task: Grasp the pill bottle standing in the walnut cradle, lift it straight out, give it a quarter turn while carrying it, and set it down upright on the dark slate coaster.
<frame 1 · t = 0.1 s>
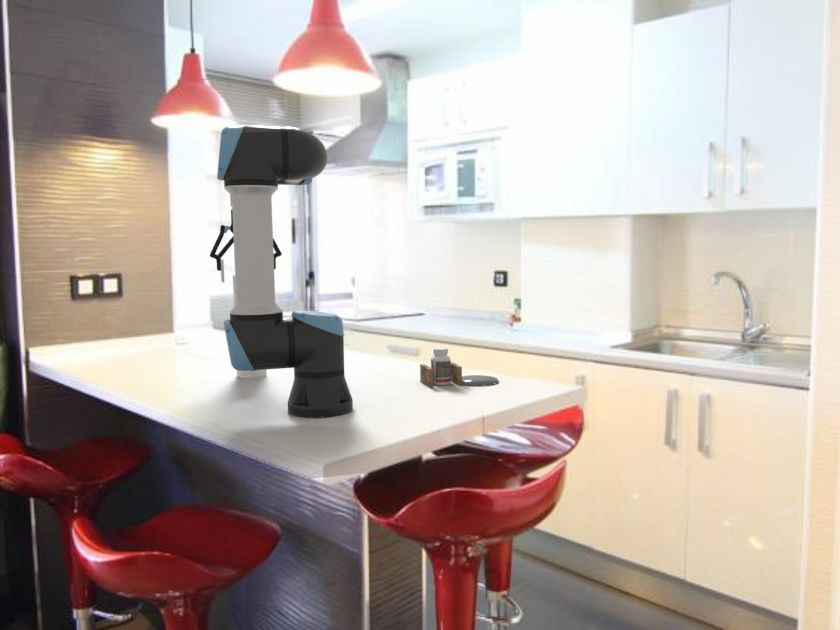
hand: (247, 281, 204), 28 cm above the table, fingers open, 13 cm apart
pill bottle: (440, 384, 192), on the table
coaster: (476, 381, 194), on the table
container: (251, 376, 208), on the table
cradle: (440, 383, 192), on the table
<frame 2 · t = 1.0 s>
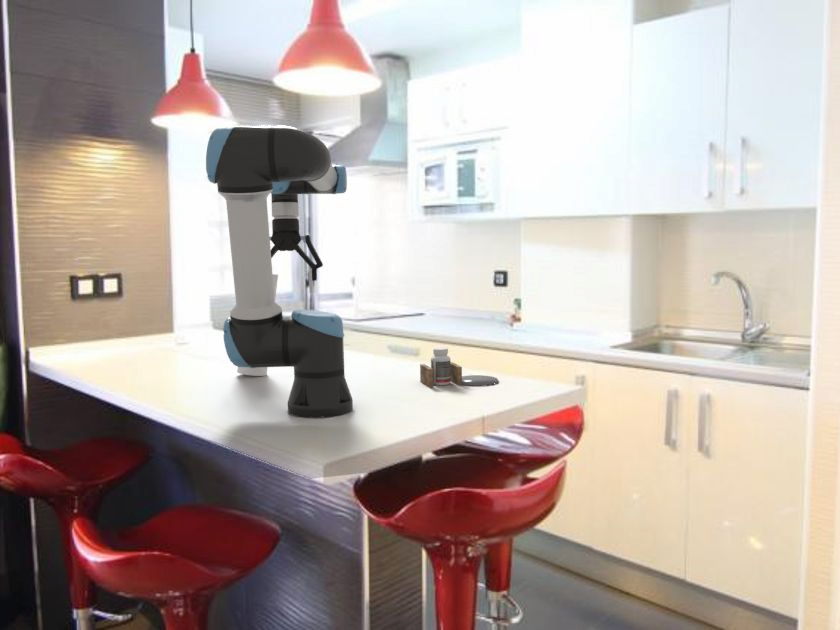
hand: (287, 292, 201), 25 cm above the table, fingers open, 13 cm apart
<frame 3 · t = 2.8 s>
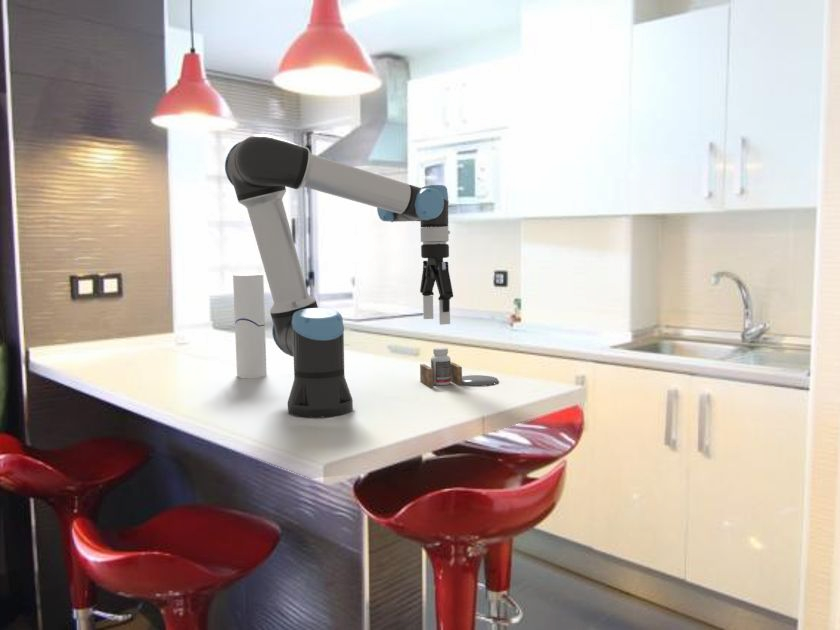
hand: (436, 321, 191), 17 cm above the table, fingers open, 13 cm apart
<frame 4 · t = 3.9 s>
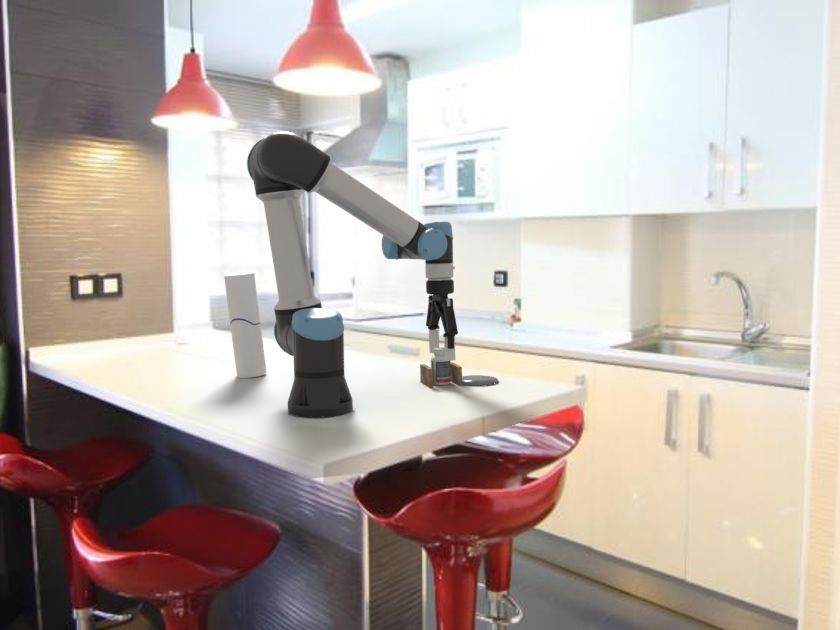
hand: (442, 356, 192), 7 cm above the table, fingers open, 13 cm apart
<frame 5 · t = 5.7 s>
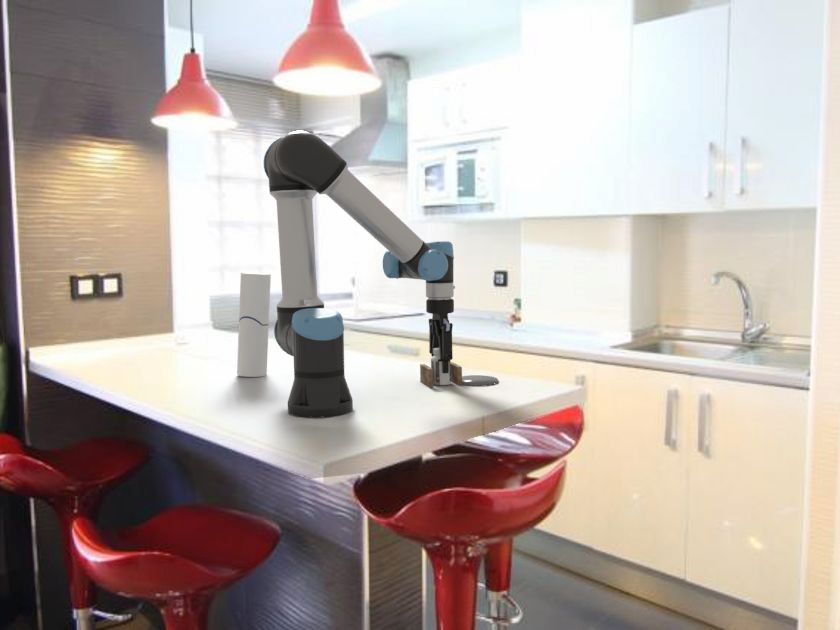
hand: (440, 382, 192), 0 cm above the table, fingers closed on pill bottle, 5 cm apart
pill bottle: (440, 384, 192), on the table, touching gripper
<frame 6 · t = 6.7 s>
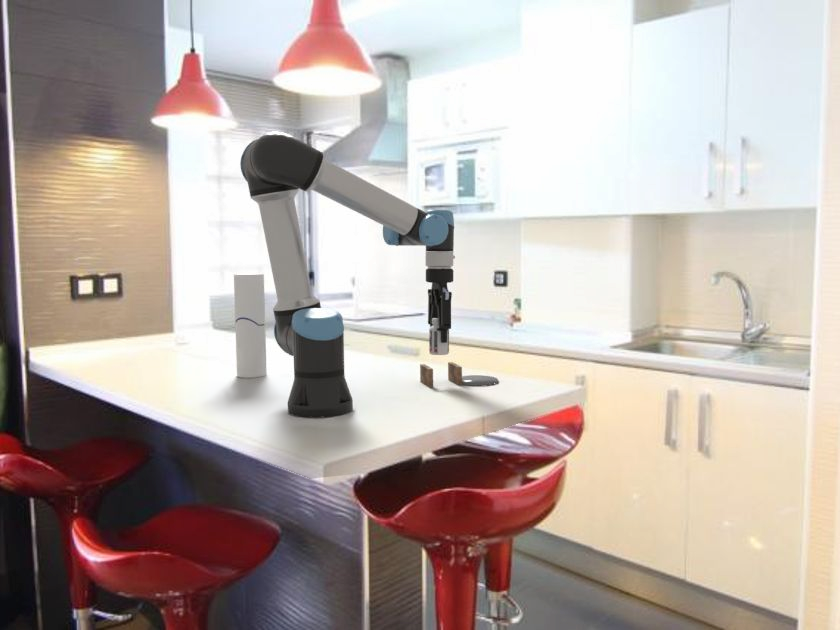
hand: (439, 352, 191), 9 cm above the table, fingers closed on pill bottle, 5 cm apart
pill bottle: (439, 354, 191), point 8 cm above the table, touching gripper
when the fingers open (2 cm above the table, at t = 11.1 s): pill bottle drops 1 cm, resting on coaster.
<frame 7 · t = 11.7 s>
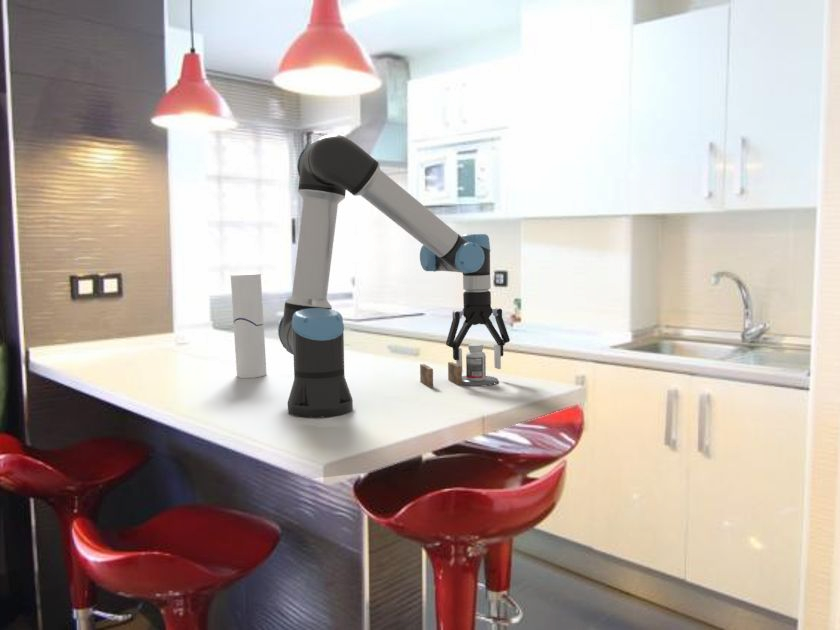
hand: (478, 369, 194), 3 cm above the table, fingers open, 11 cm apart
pill bottle: (476, 380, 194), resting on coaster
everything else where it was.
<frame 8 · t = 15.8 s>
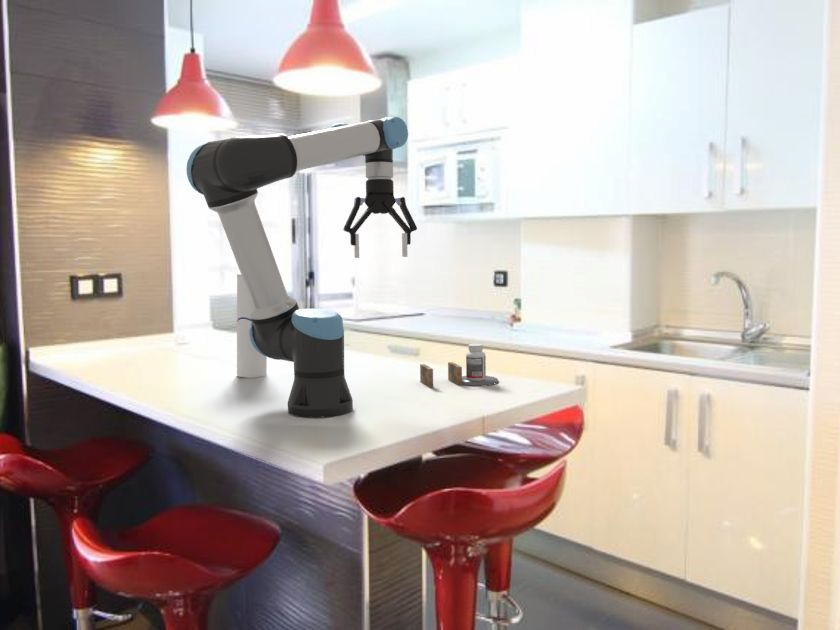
hand: (381, 257, 193), 35 cm above the table, fingers open, 13 cm apart
at the end: pill bottle 0.1 cm from the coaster (horizontally); pill bottle tilted 0°; the gripper is holding nothing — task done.
